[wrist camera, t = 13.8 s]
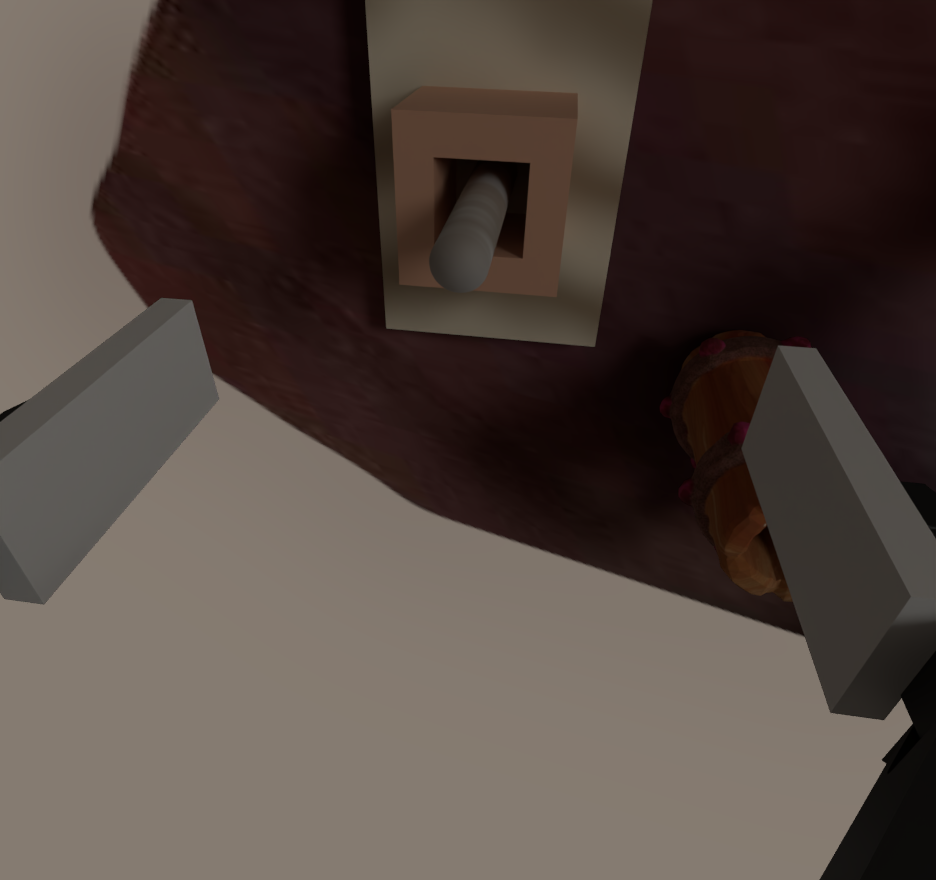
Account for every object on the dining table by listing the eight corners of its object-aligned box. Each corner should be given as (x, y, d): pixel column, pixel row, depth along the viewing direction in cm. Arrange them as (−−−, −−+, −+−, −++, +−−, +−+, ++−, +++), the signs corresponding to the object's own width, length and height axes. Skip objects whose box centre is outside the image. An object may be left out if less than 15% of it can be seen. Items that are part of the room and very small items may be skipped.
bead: (559, 248, 32) (556, 297, 27) (425, 238, 32) (399, 284, 28) (577, 93, 27) (577, 118, 23) (422, 85, 28) (391, 109, 23)
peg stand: (594, 334, 36) (600, 488, 25) (392, 317, 37) (317, 456, 26) (659, -66, 25) (720, -92, 14) (370, -73, 26) (226, -102, 15)
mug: (632, 348, 36) (658, 533, 24) (774, 275, 32) (887, 451, 21) (733, 509, 42) (794, 719, 30) (862, 463, 39) (988, 681, 27)
